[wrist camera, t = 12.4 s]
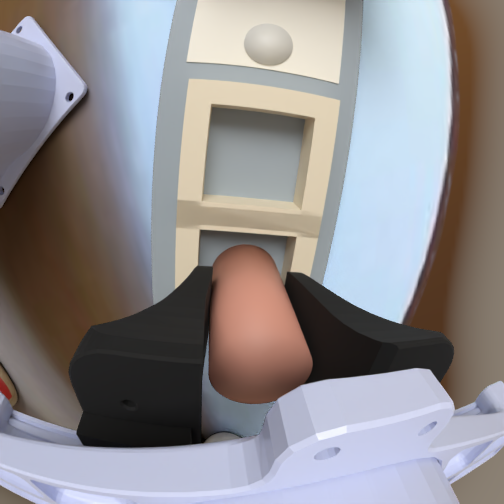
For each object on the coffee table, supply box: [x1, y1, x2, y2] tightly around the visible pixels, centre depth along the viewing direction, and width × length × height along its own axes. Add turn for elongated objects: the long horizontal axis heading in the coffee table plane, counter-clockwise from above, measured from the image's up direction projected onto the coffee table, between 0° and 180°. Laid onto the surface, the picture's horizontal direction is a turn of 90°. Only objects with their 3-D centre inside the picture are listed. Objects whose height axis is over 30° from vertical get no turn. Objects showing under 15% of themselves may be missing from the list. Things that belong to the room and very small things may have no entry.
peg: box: [208, 244, 313, 404], centre depth 11 cm, size 3×3×6 cm
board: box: [151, 0, 363, 305], centre depth 10 cm, size 28×9×3 cm, turn 173°
